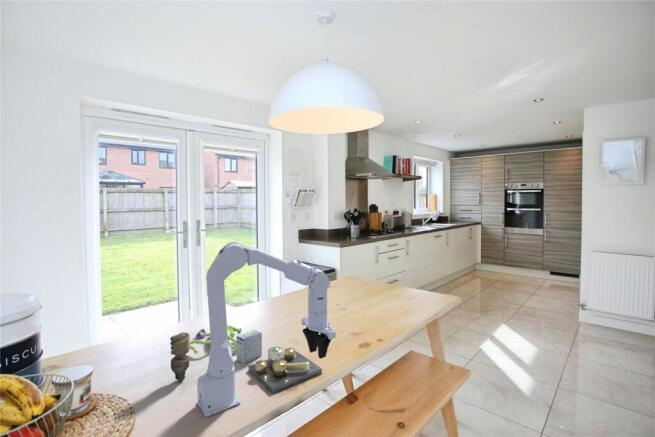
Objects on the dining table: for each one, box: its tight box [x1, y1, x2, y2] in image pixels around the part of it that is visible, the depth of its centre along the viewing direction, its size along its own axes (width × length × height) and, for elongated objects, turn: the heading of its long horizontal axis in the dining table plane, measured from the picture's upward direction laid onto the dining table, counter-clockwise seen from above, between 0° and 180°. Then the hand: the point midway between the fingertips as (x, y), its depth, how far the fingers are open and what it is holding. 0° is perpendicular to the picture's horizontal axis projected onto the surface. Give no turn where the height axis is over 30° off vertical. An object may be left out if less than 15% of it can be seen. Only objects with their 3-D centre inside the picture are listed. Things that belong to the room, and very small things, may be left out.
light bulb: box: [169, 331, 191, 382], centre depth 100 cm, size 6×6×15 cm
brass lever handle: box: [273, 360, 309, 376], centre depth 102 cm, size 11×4×3 cm, turn 98°
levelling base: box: [248, 346, 323, 394], centre depth 105 cm, size 18×16×7 cm
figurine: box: [189, 324, 242, 355], centre depth 126 cm, size 18×27×6 cm
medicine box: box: [235, 329, 263, 364], centre depth 115 cm, size 8×4×9 cm, turn 141°
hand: (317, 354), depth 98 cm, fingers open, 4 cm apart
